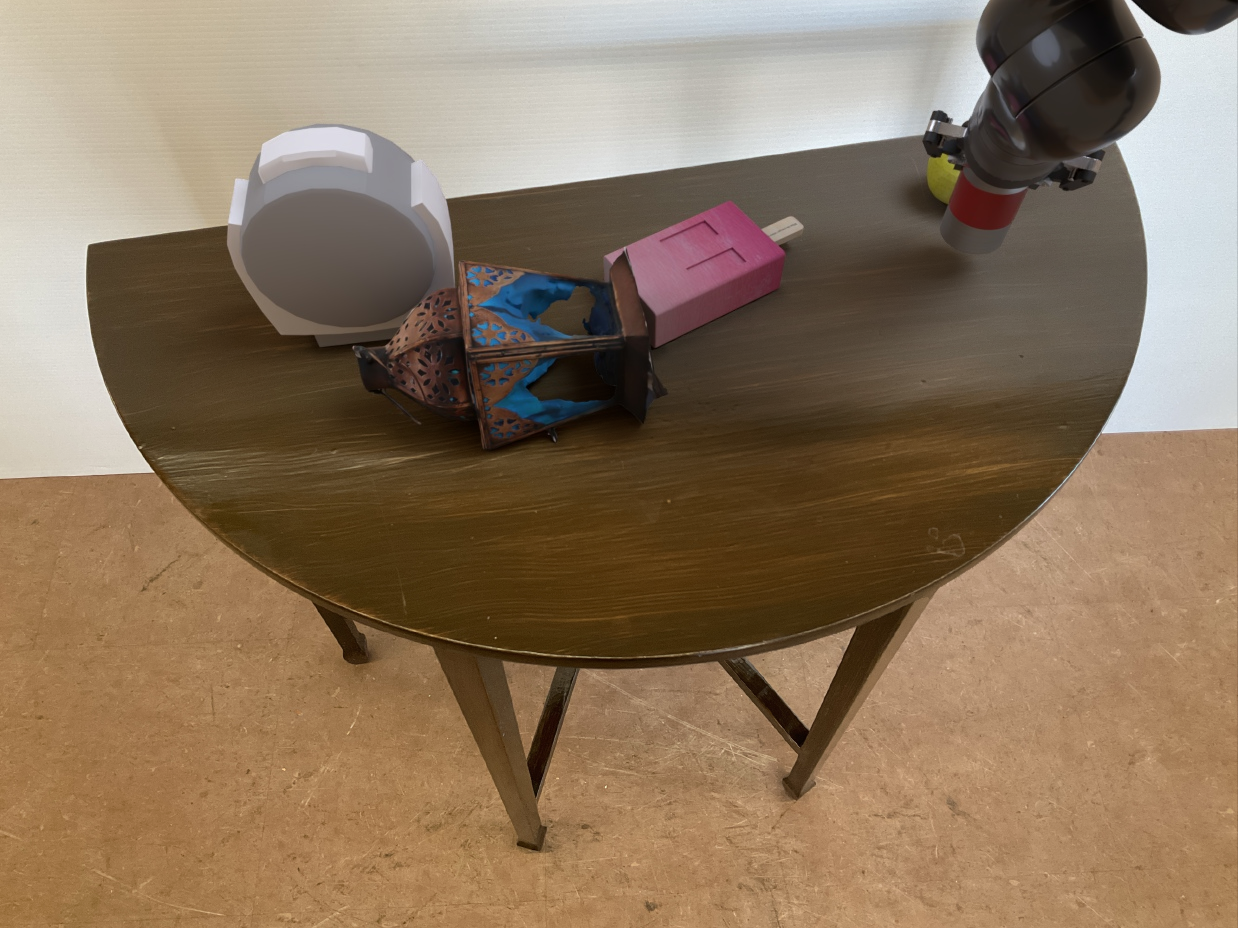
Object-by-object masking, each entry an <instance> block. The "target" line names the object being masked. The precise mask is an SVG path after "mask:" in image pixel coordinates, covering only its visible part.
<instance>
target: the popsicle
mask: <svg viewBox="0 0 1238 928" xmlns="http://www.w3.org/2000/svg"><path fill="white" fill-rule="evenodd" d="M803 232H804V225H803V224H802V223H801V222H800V221H799V220H798V219H797V218H796V217H794V216H792V215H790V216H787V217H784V218H783V219H780V220H778V221H776V222H774V223H772V224H770V225H767V226H765V227H763V228H760V226H758V225H757V223H755V222H754V221H753V219H751V218H750V217H749V216H748V215H747V214H746V213H744V211H742V209H740V208H739V207H738V206H737V205H736V204H735V203H734V202H733V201H731V200H728V201H726V202H723V203H720V204H718V205H716V206H714V207H712V208H709V209H708V210H705V211H702V212H701V213H698V214H696V215H694V216H691V217H689V218H687V219H685V220H683V221H680V222H677V223H675V224H673V225H671V226H668V227H667V228H664V229H663V230H660V231H657V232H656V233H653V234H650V235H648V236H646V237H644V238H641V239H639V240H637V241H635V242H633V243H630V244H628V245H626V248H627V251H628V255H629V259H630V263H631V265H632V268H633V272H634V276H635V280H636V284H637V288H638V293H639V298H640V303H641V306H642V309H643V313H644V317H645V320H646V324H647V329H648V334H649V336H650V346H651V347H652V348H653V349H656V348H658V347H661V346H663V345H664V344H667V343H669V342H671V341H673V340H675V339H677V338H679V337H681V336H683V335H685V334H687V333H690V332H692V331H693V330H696V329H698V328H700V327H702V326H704V325H706V324H708V323H710V322H713V321H714V320H716V319H718V318H720V317H722V316H725V315H727V314H729V313H731V312H733V311H734V310H737V309H739V308H741V307H744V306H745V305H747V304H749V303H751V302H753V301H755V300H758V299H760V298H761V297H764V296H765V295H766V296H767V294H770V293H772V292H774V291H776V290H778V289H779V288H780V287H781V281H782V277H783V271H784V266H785V260H786V251H785V250H784V249H783V248H782V247H780V245H783V244H786V243H787V242H789V241H792V240H793V239H796V238H798V237H800V236H802V235H803ZM623 251H624V247H620V248H619V249H617V250H614V251H612V252H610V253H608V254H606V255H603V257H602V259H603V276H604V277H603V279H604V281H603V282H608V281H609V272H610V271H609V269H610V268H611V266H612V265H613V262H614V261H615V260H616V259H617V257H619V256H620V255H621V254H622V252H623Z"/></svg>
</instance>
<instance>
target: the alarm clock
mask: <svg viewBox="0 0 1238 928" xmlns="http://www.w3.org/2000/svg"><path fill="white" fill-rule="evenodd" d="M260 149H261V150H260V151H259V153H258V154H257V155H256V158H255V160H254V163H253V164H252V167H251V169H250V172H249V175H248V176H249V177H248V179H243V178H239V177H238V178H235V181H234V187H233V192H232V197H231V203H230V210H229V214H228V215H229V216H228V221H227V234H226V246H227V249H228V252H229V255H230V258H231V262H232V265H233V267H234V269H235V271H236V273H237V275H238V277H239V278H240V280H241V282H242V284H243V285H244V287H245V288H246V290H247V292H248V293H249V294H250V296H251V298H252V300H254V301H255V303H256V305H257V306H258V308H259V310H260V311H261V312H262V314H263V315H264V316H265V317H266V318H267V320H268V321H269V322H270V324H271V325H272V326H273V327H274V328H275V330H276V331H277V332H278V334H280V335H281V336H314V338H315V340H316V342H317V344H318V346H319V348H324V347H331V346H332V347H333V346H341V345H342V346H343V345H348V344H349V345H351V344H357V343H358V344H359V343H367V342H375V341H386V340H392V338H393V337H394V336H395V334H396V333H397V331H398V330H399V329H400V327H401V326H402V324H403V321H404V320H405V319H406V318H407V317H408V315H409V314H410V312H411V311H412V310H413V309H414V308H415V307H416V306H417V305H418V304H419V303H420V302H421V301H423V300H424V299H425V298H426V297H427V296H429V295H431V294H433V293H434V292H436V291H438V290H440V289H444V288H455V287H456V280H455V279H456V278H455V277H456V276H455V259H454V258H455V257H454V242H453V233H452V224H451V217H450V211H449V207H448V203H447V202H448V201H447V199H446V197H445V193H444V192H443V189H442V187H441V184H440V181H439V179H438V177H437V176H436V175H435V174H434V173H433V171H432V170H431V169H430V167H428V165H427V164H426V163H425V162H424V160H423V159H422V158H420V159H418V160H415V159H414V158H413V157H412V156H411V155H410V154H409V153H407V152H406V151H405V150H404V149H403V148H401V147H400V146H399V145H398V144H396V143H395V142H394V141H392V140H391V139H388V138H386V137H384V136H382V135H380V134H377V133H375V132H374V131H371V130H369V129H365V128H361V127H356V126H353V125H348V124H344V123H313V124H309V125H305V126H301V127H296V128H292V129H290V130H288V131H284V132H282V133H280V134H279V135H276V136H275V137H273V138H271V139H269V140H267V141H265V142H263V143H262V144H261V148H260Z"/></svg>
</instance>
